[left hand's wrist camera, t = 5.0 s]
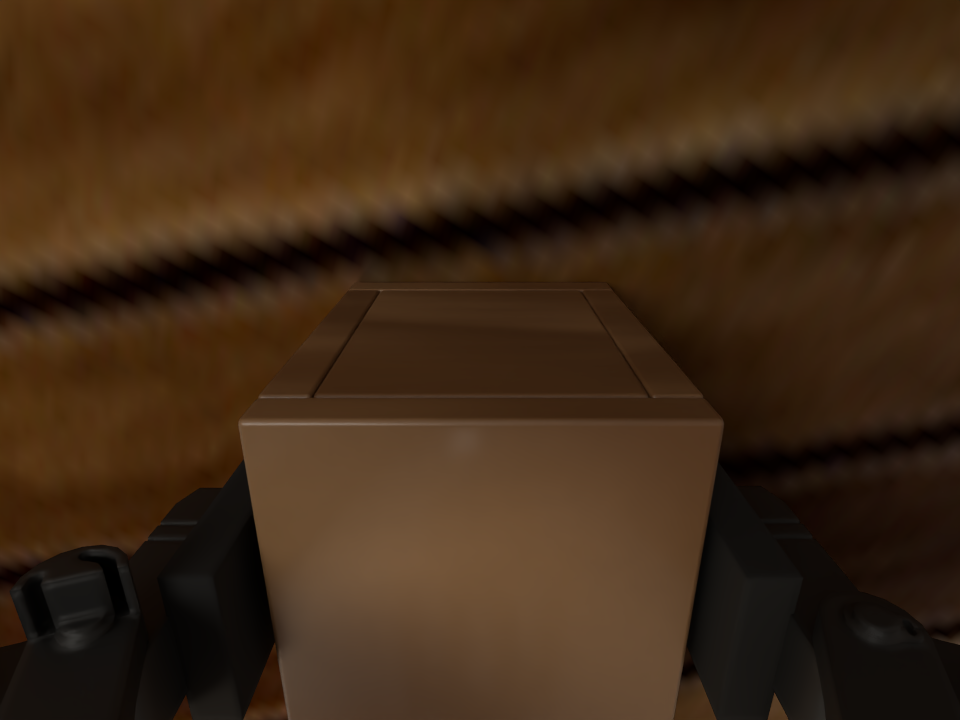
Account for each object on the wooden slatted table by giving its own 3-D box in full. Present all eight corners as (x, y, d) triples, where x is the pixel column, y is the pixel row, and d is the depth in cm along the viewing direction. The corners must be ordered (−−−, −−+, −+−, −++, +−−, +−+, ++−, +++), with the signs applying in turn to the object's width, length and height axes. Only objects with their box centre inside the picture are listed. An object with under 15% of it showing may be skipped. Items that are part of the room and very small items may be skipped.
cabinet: (571, 725, 21) (620, 1043, 14) (390, 725, 21) (341, 1043, 14) (606, 281, 15) (728, 420, 8) (354, 281, 15) (233, 419, 8)
